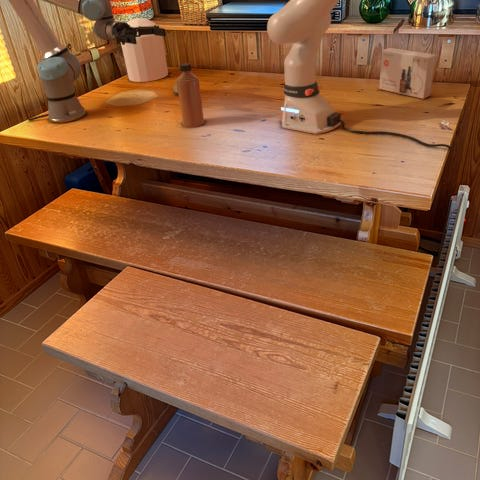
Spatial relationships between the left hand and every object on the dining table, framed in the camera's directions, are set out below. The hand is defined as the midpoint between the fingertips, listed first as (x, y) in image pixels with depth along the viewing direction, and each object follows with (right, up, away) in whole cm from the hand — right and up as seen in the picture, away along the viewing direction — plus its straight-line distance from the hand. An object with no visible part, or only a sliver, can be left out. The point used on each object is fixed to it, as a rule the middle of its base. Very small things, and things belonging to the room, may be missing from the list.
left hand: (150, 36), depth 174 cm
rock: (+9, -8, +40) cm, 42 cm away
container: (-14, +9, +69) cm, 71 cm away
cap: (+14, -13, -6) cm, 20 cm away
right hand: (+32, +19, -8) cm, 38 cm away
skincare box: (+101, -17, +15) cm, 103 cm away
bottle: (+16, -31, +6) cm, 36 cm away
